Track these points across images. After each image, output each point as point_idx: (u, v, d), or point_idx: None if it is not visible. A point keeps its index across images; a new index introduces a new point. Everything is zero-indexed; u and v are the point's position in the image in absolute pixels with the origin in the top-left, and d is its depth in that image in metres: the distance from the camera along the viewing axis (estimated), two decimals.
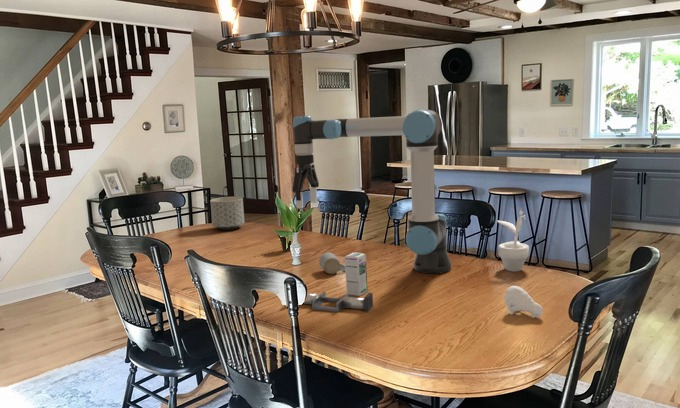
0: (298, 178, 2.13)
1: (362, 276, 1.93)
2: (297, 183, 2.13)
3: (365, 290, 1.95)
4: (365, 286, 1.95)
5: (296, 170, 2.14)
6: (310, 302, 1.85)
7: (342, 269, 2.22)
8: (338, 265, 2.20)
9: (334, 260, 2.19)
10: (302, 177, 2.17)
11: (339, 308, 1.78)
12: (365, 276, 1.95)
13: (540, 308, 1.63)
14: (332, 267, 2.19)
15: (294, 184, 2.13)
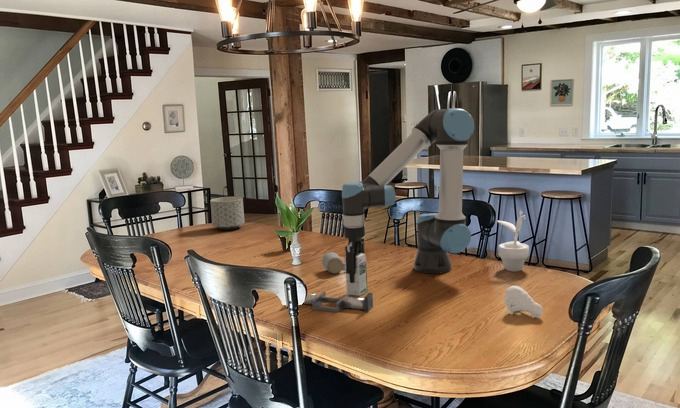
0: (351, 259, 1.87)
1: (362, 276, 1.93)
2: (350, 265, 1.88)
3: (365, 290, 1.95)
4: (365, 286, 1.95)
5: (347, 249, 1.87)
6: (310, 302, 1.85)
7: None
8: (341, 265, 2.20)
9: (337, 260, 2.19)
10: (354, 255, 1.90)
11: (339, 308, 1.78)
12: (365, 276, 1.95)
13: (540, 308, 1.63)
14: (335, 267, 2.19)
15: (347, 266, 1.88)
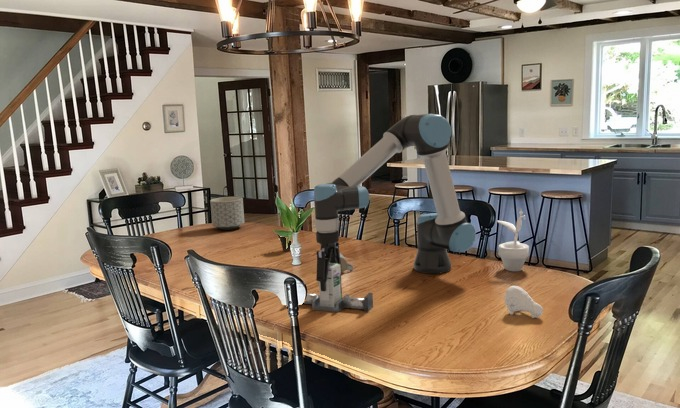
0: (322, 265, 1.74)
1: (336, 288, 1.81)
2: (321, 271, 1.74)
3: None
4: None
5: (318, 254, 1.75)
6: (310, 302, 1.85)
7: (349, 268, 2.22)
8: (345, 264, 2.20)
9: (341, 259, 2.20)
10: (326, 261, 1.77)
11: (339, 308, 1.78)
12: (340, 288, 1.83)
13: (540, 308, 1.63)
14: None
15: (318, 272, 1.75)
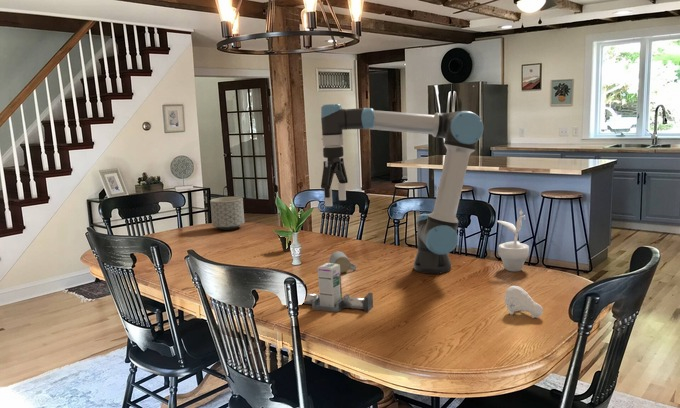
0: (327, 173, 1.92)
1: (336, 288, 1.80)
2: (326, 178, 1.92)
3: None
4: None
5: (325, 164, 1.93)
6: (310, 302, 1.85)
7: (352, 268, 2.23)
8: (348, 264, 2.21)
9: (344, 259, 2.20)
10: (331, 172, 1.96)
11: (339, 308, 1.78)
12: (339, 288, 1.83)
13: (540, 308, 1.63)
14: (342, 266, 2.20)
15: (323, 179, 1.92)
